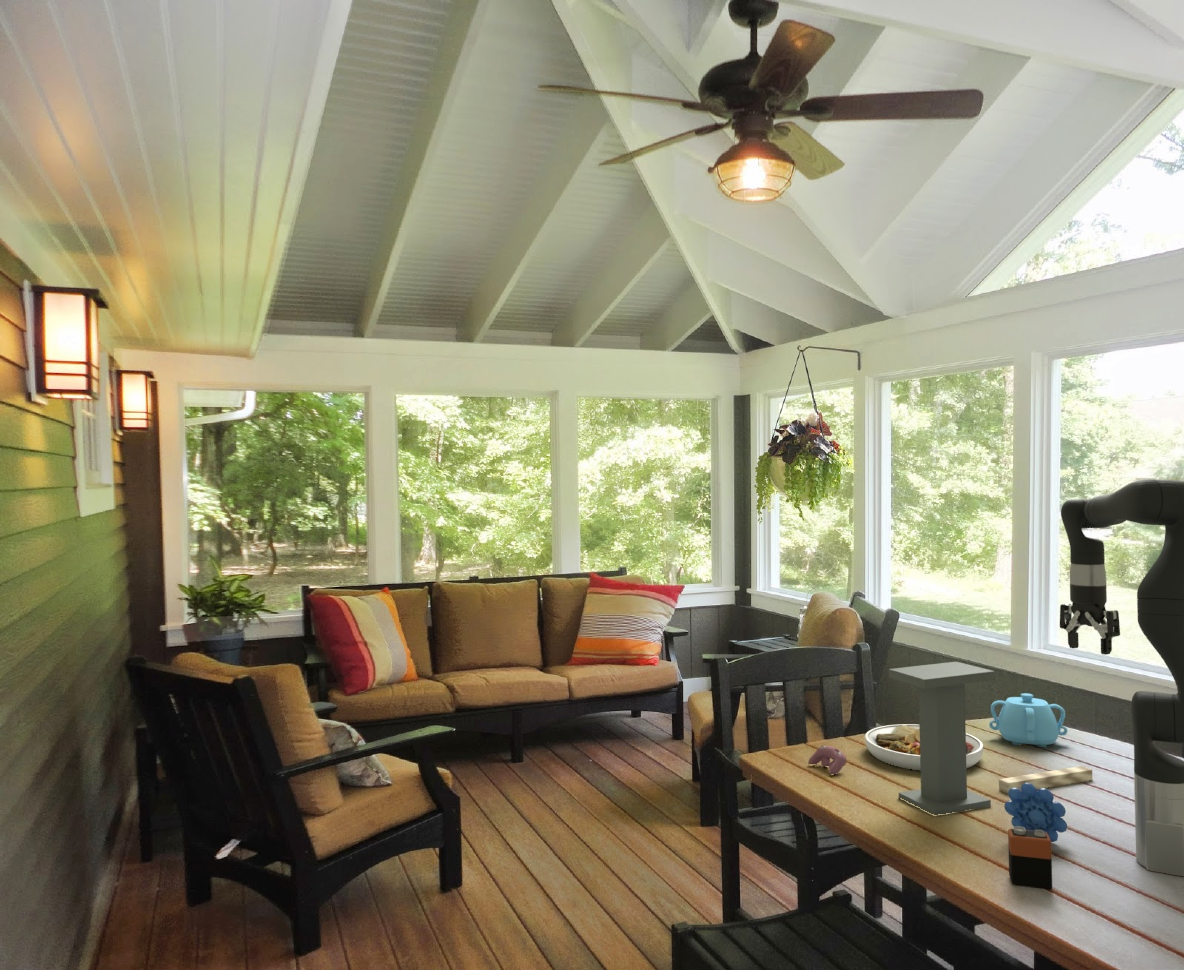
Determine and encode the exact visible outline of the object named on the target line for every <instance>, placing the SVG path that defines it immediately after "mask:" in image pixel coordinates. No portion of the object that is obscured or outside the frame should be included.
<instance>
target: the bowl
mask: <svg viewBox="0 0 1184 970" xmlns="http://www.w3.org/2000/svg"><path fill="white" fill-rule="evenodd" d="M864 735H865V736H864V740H865V745H866V748H867V750H868V751H869V752H870V754H872V756H874V757H875V758H876V759H878V760H879V761H882V762H883V763H885V764H887V763H888V765H890V764H891V766H893V765H894V767H896V766H898V767H897V768H900V767H901V768H900V769H905V768H906V770H910V769H912V770H911V771H916V770H919V771H918V772H921V769H920V725H919V724H915V723H913V724H912V723H911V724H907V723H906V724H904V723H903V724H888V725H883V726H882V725H881V726H878V727H875V728H872V729H870V730H868V731H867V732H866V733H865V734H864ZM983 753H984V743H983V742H982V741H981V740H980V739H979V738H977V737H976V736H974V735H972V734H969V733H967V732H966V769H968V768H971V767H973V766H975V765H976V764H978V762H979V761H980V760H981V759H982V756H983Z"/></svg>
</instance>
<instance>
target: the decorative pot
mask: <svg viewBox="0 0 1184 970" xmlns="http://www.w3.org/2000/svg"><path fill="white" fill-rule="evenodd" d="M997 705H1002V707H1001V710H1000V713H999V715H998V716H997V714H996V710H995V709H996V708H995V706H997ZM1052 709H1057V710H1059V711H1060V718H1059V720H1057V718H1056V715H1055V714H1054V712H1053V710H1052ZM990 713H991V716H992V718H993V720H990V721H989V728H990V729H991V730H993V731H999V733H1000V734H1001V736H1002V737H1003V739H1004V740H1006V741H1008V742H1011V744H1012V745H1015V746H1021V745H1022V744H1025V745H1026V744H1027V745H1036V747H1040V748H1047V747H1048V746H1047V745H1052V744H1054V743H1055V742H1056V741H1057V739H1058V738H1059V736H1066V735H1067V734H1068V728H1067V727H1066V726H1064V725H1063V723H1064V721H1065V718H1066V710H1065V708H1063V707H1062V705H1061V706H1060V705H1059V704H1057V703H1052V704H1049V702H1047V701H1046V700H1045V699H1043V698H1035V697H1034V694H1032V693H1027V692H1026V693H1025V692H1024V693H1020V696H1011V697H1008V698H1006V700H1001V699H1000V700H995V701H993V702H992V704H991V705H990ZM993 724H995V726H994V725H993ZM1061 729H1062V730H1063V731H1061Z"/></svg>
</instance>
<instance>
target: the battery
mask: <svg viewBox="0 0 1184 970" xmlns="http://www.w3.org/2000/svg"><path fill="white" fill-rule="evenodd" d="M1007 839H1008V840H1007V841H1008V844H1007V845H1008V846H1007V847H1008V848H1007V849H1008V875H1009V878H1010V882H1011V884H1012V885H1014V886H1018V887H1019V886H1020V887H1029V888H1036V889H1043V890H1044V889H1045V890H1052V889H1053V860H1052V858H1053V857H1052V856H1053V855H1052V853H1053V852H1052V842H1051V840H1050V838H1049V836H1048V834H1047V833H1046V832H1044V831H1043V830H1035V831H1029V830H1025V828H1023V827H1019V826H1017V827H1014V826H1013V828H1009V829H1008V830H1007Z"/></svg>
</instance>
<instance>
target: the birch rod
mask: <svg viewBox="0 0 1184 970" xmlns="http://www.w3.org/2000/svg"><path fill="white" fill-rule="evenodd" d="M1089 780H1092V781H1093V769H1091V768H1089V767H1086V766H1082V765H1080V766H1072V767H1068V768H1067V767H1066V768H1062V769H1055V770H1049V771H1042V772H1041V771H1040V772H1036V773H1030V774H1024V775H1023V774H1022V775H1016V776H1011V777H1003V778H999V779H998V791H1000V792H1003V793H1005V794H1007V795H1008V792H1009V789H1011V788H1017V789H1020V790H1021V786H1022V784H1024V783H1030V784H1033V785H1034V787H1035V788H1036V789H1037V790H1039V789H1041V788H1045V789H1048V787H1049V788H1054V786H1055V787H1060V786H1066V784H1068V785H1071V784H1070V783H1074V784H1078V783H1085V782H1084V781H1086V782H1090V781H1089ZM1021 792H1022V791H1021Z"/></svg>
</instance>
